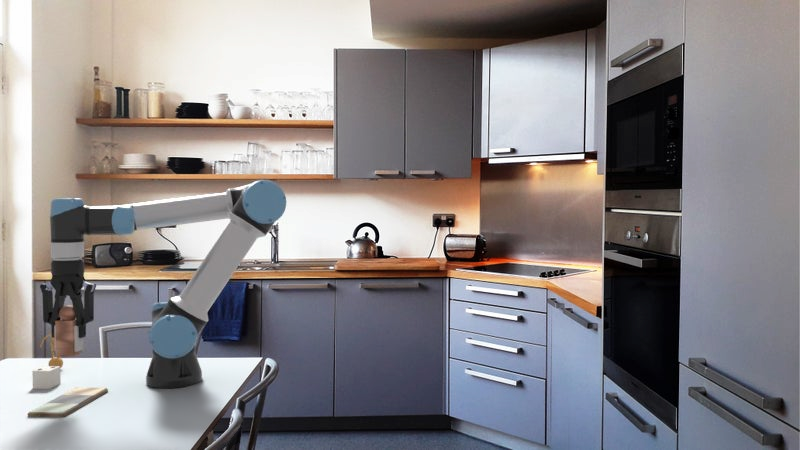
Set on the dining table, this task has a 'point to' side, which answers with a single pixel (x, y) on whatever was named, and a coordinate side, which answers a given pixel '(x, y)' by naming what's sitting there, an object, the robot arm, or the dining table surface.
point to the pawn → (65, 332)
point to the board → (68, 402)
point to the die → (46, 377)
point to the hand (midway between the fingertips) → (69, 350)
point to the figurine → (55, 360)
